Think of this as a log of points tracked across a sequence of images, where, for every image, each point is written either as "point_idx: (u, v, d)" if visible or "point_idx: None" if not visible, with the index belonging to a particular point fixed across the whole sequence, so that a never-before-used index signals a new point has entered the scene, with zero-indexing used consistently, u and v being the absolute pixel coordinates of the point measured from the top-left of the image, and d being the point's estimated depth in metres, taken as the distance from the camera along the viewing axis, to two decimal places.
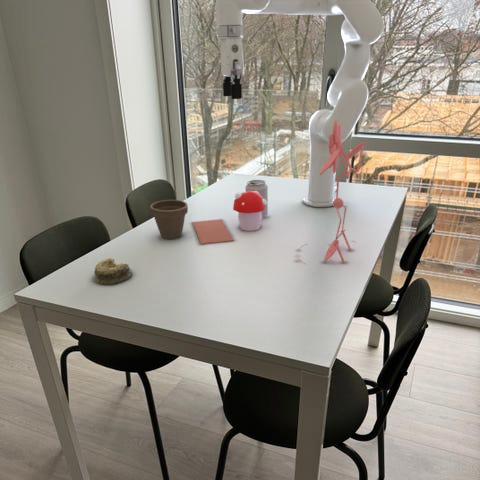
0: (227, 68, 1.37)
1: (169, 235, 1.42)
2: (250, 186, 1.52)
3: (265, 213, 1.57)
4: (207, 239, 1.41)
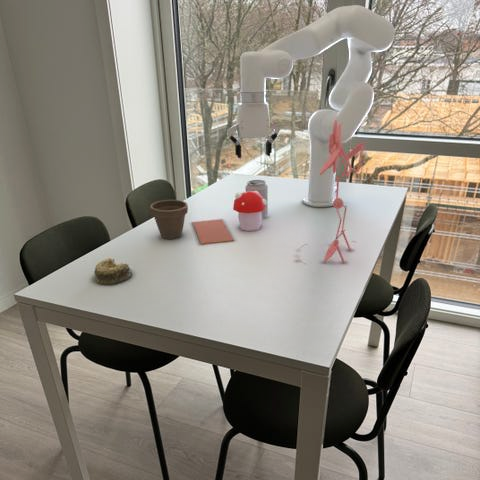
0: (265, 129, 1.44)
1: (169, 235, 1.42)
2: (250, 186, 1.52)
3: (265, 213, 1.57)
4: (207, 239, 1.41)
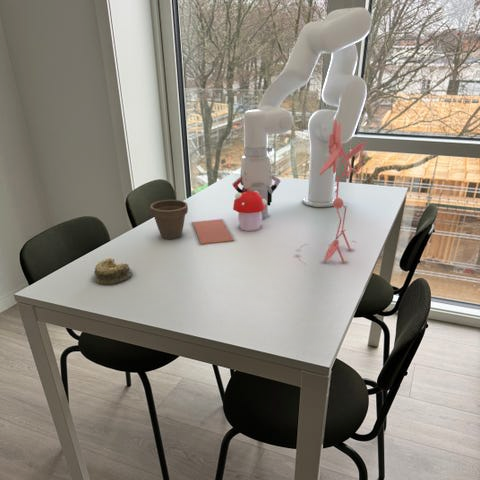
0: (268, 180, 1.52)
1: (169, 235, 1.42)
2: None
3: (265, 213, 1.57)
4: (207, 239, 1.41)
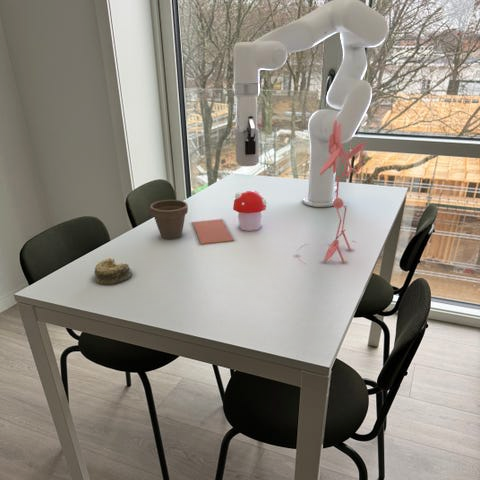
0: None
1: (169, 235, 1.42)
2: None
3: None
4: (207, 239, 1.41)
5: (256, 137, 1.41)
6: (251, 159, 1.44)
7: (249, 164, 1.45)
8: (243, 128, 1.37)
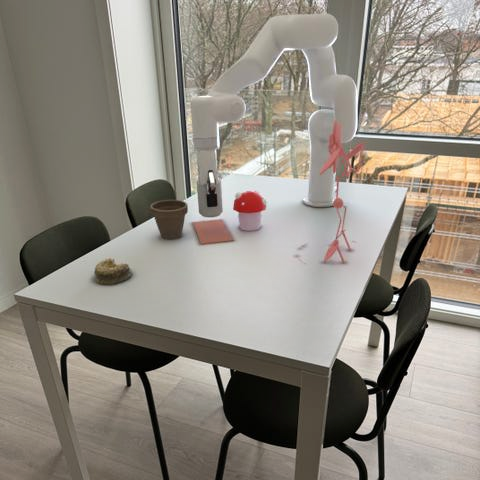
0: None
1: (169, 235, 1.42)
2: (215, 180, 1.38)
3: None
4: (207, 239, 1.41)
5: (218, 189, 1.39)
6: (214, 210, 1.41)
7: (212, 216, 1.42)
8: (203, 182, 1.35)
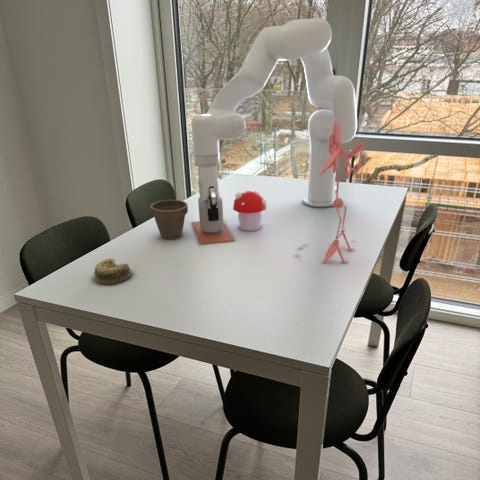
0: None
1: (169, 235, 1.42)
2: None
3: None
4: (207, 239, 1.41)
5: (219, 206, 1.41)
6: (215, 227, 1.44)
7: (213, 232, 1.45)
8: (204, 198, 1.37)
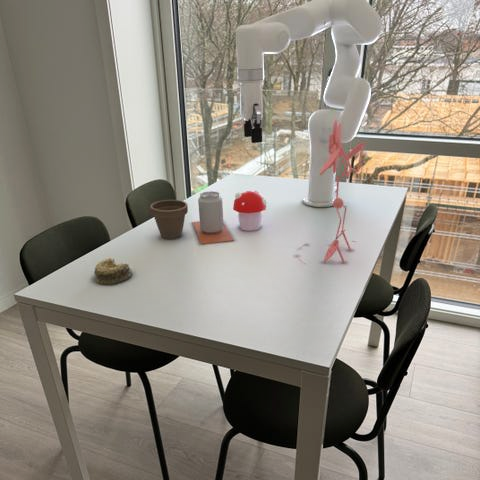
0: None
1: (169, 235, 1.42)
2: (217, 198, 1.40)
3: None
4: (207, 239, 1.41)
5: (219, 206, 1.41)
6: (215, 227, 1.44)
7: (213, 232, 1.45)
8: (248, 116, 1.31)
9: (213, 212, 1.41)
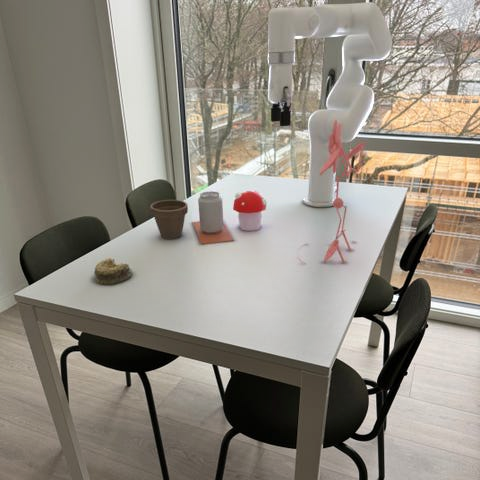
0: None
1: (169, 235, 1.42)
2: (217, 198, 1.40)
3: None
4: (207, 239, 1.41)
5: (219, 206, 1.41)
6: (215, 227, 1.44)
7: (213, 232, 1.45)
8: (278, 99, 1.32)
9: (213, 212, 1.41)
